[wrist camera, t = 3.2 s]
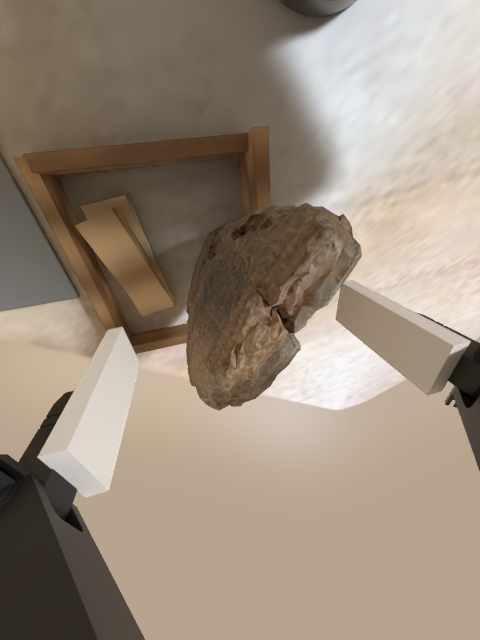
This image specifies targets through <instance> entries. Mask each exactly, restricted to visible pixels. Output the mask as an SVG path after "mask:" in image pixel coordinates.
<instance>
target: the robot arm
mask: <svg viewBox="0 0 480 640" xmlns="http://www.w3.org/2000/svg"><path fill="white" fill-rule="evenodd" d="M281 1H282V2H284V3H285V4H286V5H287V6H289V7H290V8H292V9H294V10H295V11H298V12H300V13H302V14H306V15H310V16H327V15H332V14H334V13H337V12H339V11H342V10H344V9H345V8H347V7H349V6H350V5H351V4H353V3H354V2H355V1H357V0H281ZM336 320H337V321H338V322H339V323H340V324H342V325H343V326H344V327H345V328H346V329H348V330H349V331H350V332H351V333H352V334H354V335H355V336H356V337H357V338H358V339H360V340H361V341H362V342H363V343H365V344H366V345H367V346H368V347H369V348H371V349H372V350H373V351H374V352H375V353H377V354H378V355H379V356H380V357H381V358H383V359H384V360H385V361H386V362H387V363H389V364H390V365H391V366H392V367H394V368H395V369H396V370H397V371H398V372H400V373H401V374H402V375H403V376H404V377H406V378H407V379H408V380H409V381H410V382H412V383H413V384H414V385H416V387H418V388H419V389H420V390H422V391H423V392H424V393H425V394H426V395H430V394H433V393H436V392H440V391H442V390H443V388H444V387H445V385H446V383H447V381H449V382H451V383H452V384H453V385H455V386H454V388H453V389H452V391H451V392H450V394H449V396H448V397H447V399H446V400H445V404H446V405H449V404H450V402H451V401H452V400H455V402H456V403H455V404H454V406H453V407H457V408H458V410H459V413H460V416H461V419H462V422H463V425H464V427H465V430H466V433H467V436H468V439H469V442H470V444H471V447H472V450H473V453H474V456H475V459H476V462H477V465H478V467H479V470H480V343H478V342H476V341H474V340H472V339H470V338H468V337H466V336H464V335H462V334H461V333H459V332H457V331H455V330H453V329H451V328H449V327H447V326H443V324H441V323H439V322H435V320H433V319H431V318H429V317H427V316H425V315H422V314H419V313H416V312H413V311H411V310H409V309H407V308H405V307H404V306H402V305H400V304H398V303H396V302H394V301H392V300H390V299H388V298H386V297H384V296H382V295H380V294H378V293H376V292H374V291H372V290H370V289H368V288H367V287H365V286H363V285H361V284H359V283H357V282H355V281H353V280H351V281H346V282H344V283H343V284H342V285H341V288H340V294H339V301H338V307H337V314H336ZM139 368H140V362H139V360H138V358H137V356H136V354H135V352H134V350H133V348H132V345H131V343H130V341H129V339H128V337H127V335H126V333H125V331H124V329H123V327H119V328H114V329H109V330H107V332H106V334H105V336H104V337H103V339H102V341H101V343H100V345H99V346H98V348H97V350H96V352H95V354H94V355H93V357H92V359H91V361H90V363H89V365H88V366H87V368H86V370H85V372H84V374H83V375H82V377H81V379H80V381H79V383H78V385H77V386H76V388H75V390H74V391H71V392H67V393H65V394H64V395H63V396H62V397H61V398H60V399H59V400H58V401H57V402H56V403H55V404H54V405H53V407H52V408H51V410H50V411H49V413H48V415H47V418H46V419H45V420H44V421H43V423H42V424H41V426H40V429H38V431H37V433H36V434H35V436H34V438H33V439H32V441H31V442H30V444H29V446H28V448H27V449H26V451H25V452H24V454H23V456H22V457H21V459H20V461H19V462H17V461H15V460H14V459H13V458H11V457H10V456H9V455H0V640H145V639H144V637H143V635H142V633H141V631H140V629H139V627H138V625H137V623H136V621H135V619H134V617H133V615H132V614H131V611H130V610H129V608H128V606H127V604H126V602H125V600H124V598H123V596H122V594H121V592H120V590H119V588H118V586H117V584H116V582H115V580H114V579H113V577H112V575H111V573H110V571H109V569H108V567H107V565H106V563H105V561H104V559H103V557H102V555H101V554H100V551H99V550H98V548H97V546H96V544H95V542H94V540H93V538H92V536H91V534H90V532H89V530H88V528H87V526H86V524H85V522H84V521H83V518H82V517H81V515H80V513H79V511H78V509H77V507H76V506H74V505H73V504H72V503H73V500H74V498H75V495H76V492H77V491H78V492H79V493H81V494H82V495H83V496H84V497H89V496H92V495H96V494H99V493H103V492H106V491H109V488H110V484H111V480H112V476H113V472H114V468H115V464H116V460H117V456H118V452H119V448H120V444H121V440H122V436H123V432H124V427H125V424H126V420H127V416H128V412H129V407H130V404H131V400H132V396H133V391H134V388H135V384H136V379H137V376H138V372H139Z"/></svg>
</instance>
